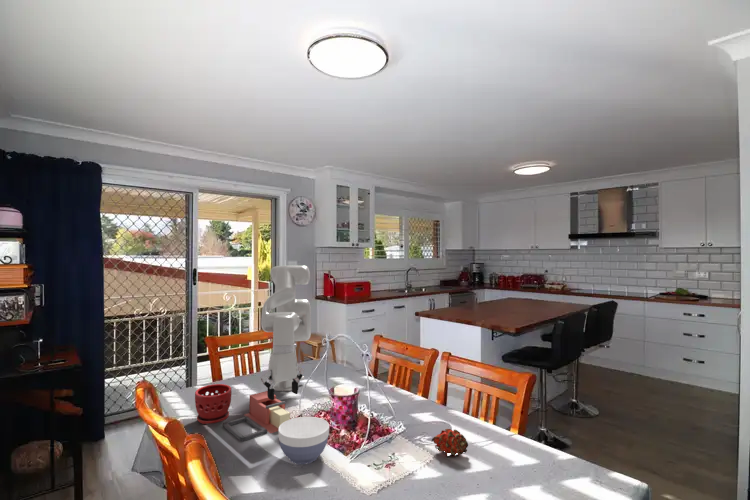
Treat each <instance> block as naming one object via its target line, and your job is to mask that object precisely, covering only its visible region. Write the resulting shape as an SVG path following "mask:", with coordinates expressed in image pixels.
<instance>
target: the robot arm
mask: <svg viewBox="0 0 750 500" xmlns="http://www.w3.org/2000/svg"><path fill="white" fill-rule="evenodd" d="M270 276H271V279H272V282H273V284H274V292H273V293H272V294H271V295H270V296H269V297H268V298H267V299H265V300H266V301H265V302H264V303H263V305H262V309H261V319H260V320H261V321H260V324H261V328H262V329H261V330H262V331H264V332H266V333H273V334H272V338H273V339H272V341H273V342H272V352H271V353H270V356H269V361H268V367H267V368H268V369H267V372H266V373H265V374H263V375H262V376H261V377H260V380H261V382H262V384H263V385H264V386H265V387H266V388H267V391H268V398H269V399H271V400H274V395H275V391H276V392H291V393H293V394H295V395H298V393H299V387H300V384H299V383H300V381H301V382H302V381H304V380H305V376H304V373H305V369H304V368H302V367H299V366H298V358H297V352H296V348H297V347H298V346H297V343H295V342H306V341H308V340H310V339H311V335H312V334H311V333H312V307H311V303H310V300H308V299H306V298H305V299H304V298H298V299H297V298H296V291H297V289H296V286H297V285H298V286H301V285H303V286H305V285H308V284H309V283H310V281H311V272H310V268H309V266H307V265H289V264H288V265H276V266H273V267H272V268H271V270H270ZM274 309H276V311H274V312H272V311H273V310H274ZM268 380H269V381H268Z"/></svg>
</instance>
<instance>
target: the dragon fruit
mask: <svg viewBox="0 0 750 500" xmlns="http://www.w3.org/2000/svg"><path fill="white" fill-rule="evenodd" d="M431 442H433V444H434V448H435V449H436V450H437V449H438V450H439V451H438V450H437V451H438V452H443V451H445V452H446V453H445V456H446V455H447V453H451V454H452V456H453V455H455V454H456V453H458V454H459V455H461V456H462V455H463V454H466V453H467V452H468V449H467V448H468V447H469V443H468V441H467V438H466V437H465V436H464V435H463V433H461V432H460V431H459V430H457V429H451V428H446V429H443V430H441V432H440V433H439V434H436V435H435V436H434V437H433V438H432V439H431ZM463 452H465V453H463Z"/></svg>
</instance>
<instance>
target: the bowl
mask: <svg viewBox="0 0 750 500" xmlns="http://www.w3.org/2000/svg"><path fill="white" fill-rule="evenodd" d="M277 433H278V440H279V446H280V449H281V451H282V453H283V454H284V456H285V457H287V458H288V460H289V459H290V460H289V461H290V462H291V463H292V462H293V464H295V463H296V465H307V464H306V463H308V464H311V463H314V462H315V461H317V460H318V459H319V456H320V455H321V454H322V453H323V452H324V450H325V449H326V446H327V443H328V441H329V439H328V438H329V435H330V424H329V422H328V421H327V420H326V419H324V418H321V417H316V416H300V417H299V416H298V417H294V418H291V419H290V420H287V421H285V422H284V423H282V424H281V425H280V426H279V429H278V431H277ZM313 461H314V462H313Z"/></svg>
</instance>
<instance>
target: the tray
mask: <svg viewBox="0 0 750 500" xmlns="http://www.w3.org/2000/svg"><path fill="white" fill-rule="evenodd" d="M243 422H246V423H247V424H249V425H250V426H252V427H253V428H255V429H256V430H257V431H255V432H251V433H249V434H245V435H243V434H242V433H241V432H239V431H238V430H237V429H236V428H234V427H233V425H236V424H237V425H238V424H240V423H243ZM222 427H223V428H225V430H226V431H228V432H229V433H230V434H231V435H233V436H234V437H235V438H237V439H238V440H239V441H240V442H244V441H248V440H251V439H254V438H257V437H259V436H263V435H267V434H268V431H267V429H265V428H264V427H262V426H261V425H259V424H258V423H256V422H255V421H254V420H252V419H251V418H249V417H248V416H243V417H240V418H237V419H233V420H229V421H225V422H223V423H222Z"/></svg>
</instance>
